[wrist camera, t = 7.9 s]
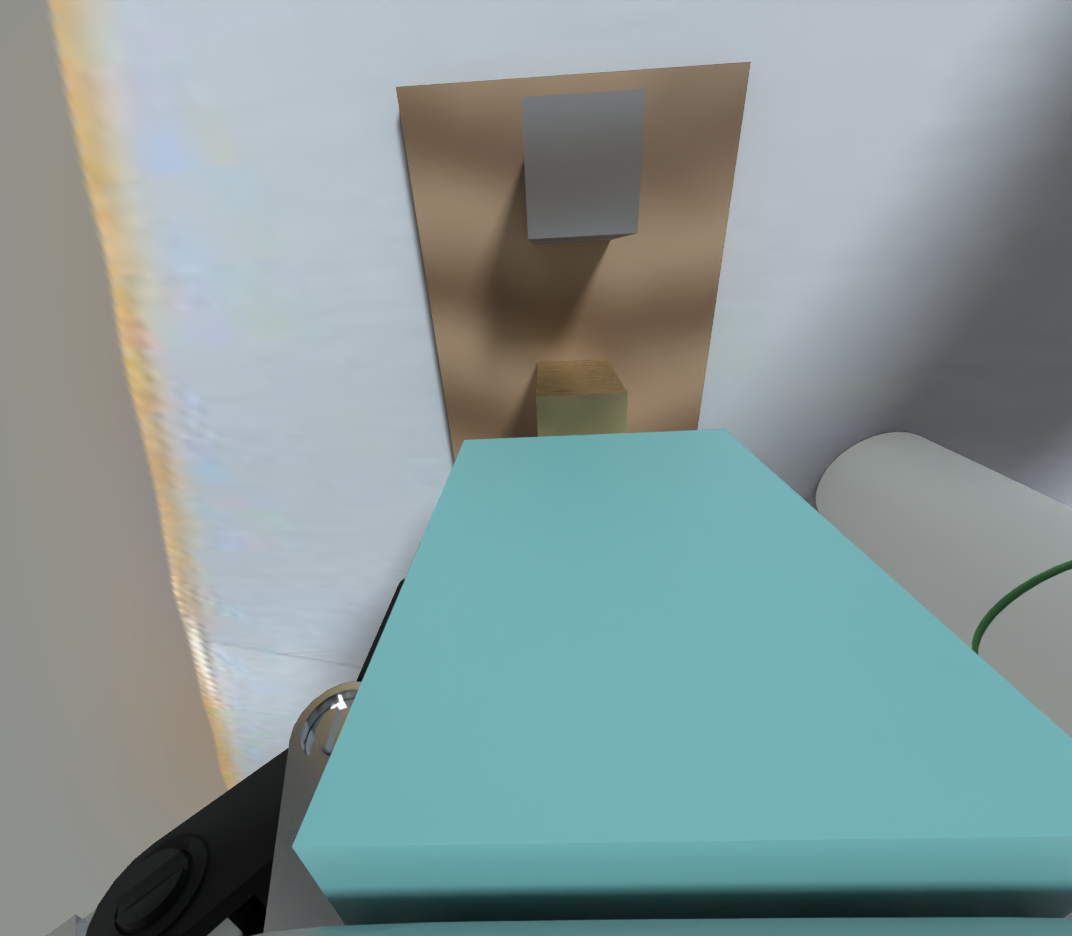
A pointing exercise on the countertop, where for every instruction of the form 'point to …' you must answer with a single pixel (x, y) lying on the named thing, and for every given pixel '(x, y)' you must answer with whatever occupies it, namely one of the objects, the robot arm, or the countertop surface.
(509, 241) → the walnut board
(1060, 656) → the cylindrical container
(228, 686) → the countertop surface
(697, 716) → the aqua foam cube
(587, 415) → the wooden post
